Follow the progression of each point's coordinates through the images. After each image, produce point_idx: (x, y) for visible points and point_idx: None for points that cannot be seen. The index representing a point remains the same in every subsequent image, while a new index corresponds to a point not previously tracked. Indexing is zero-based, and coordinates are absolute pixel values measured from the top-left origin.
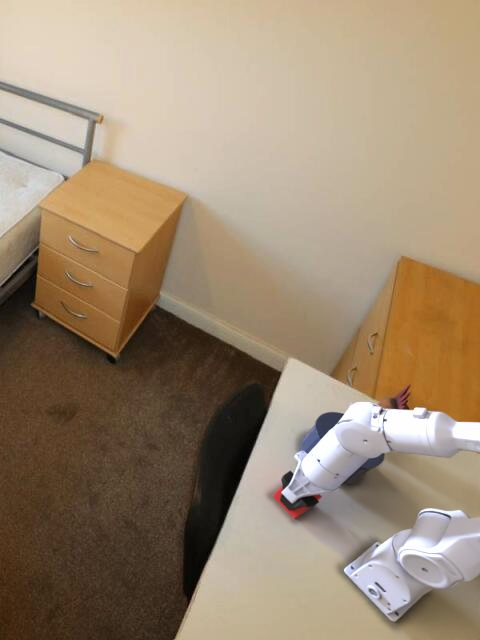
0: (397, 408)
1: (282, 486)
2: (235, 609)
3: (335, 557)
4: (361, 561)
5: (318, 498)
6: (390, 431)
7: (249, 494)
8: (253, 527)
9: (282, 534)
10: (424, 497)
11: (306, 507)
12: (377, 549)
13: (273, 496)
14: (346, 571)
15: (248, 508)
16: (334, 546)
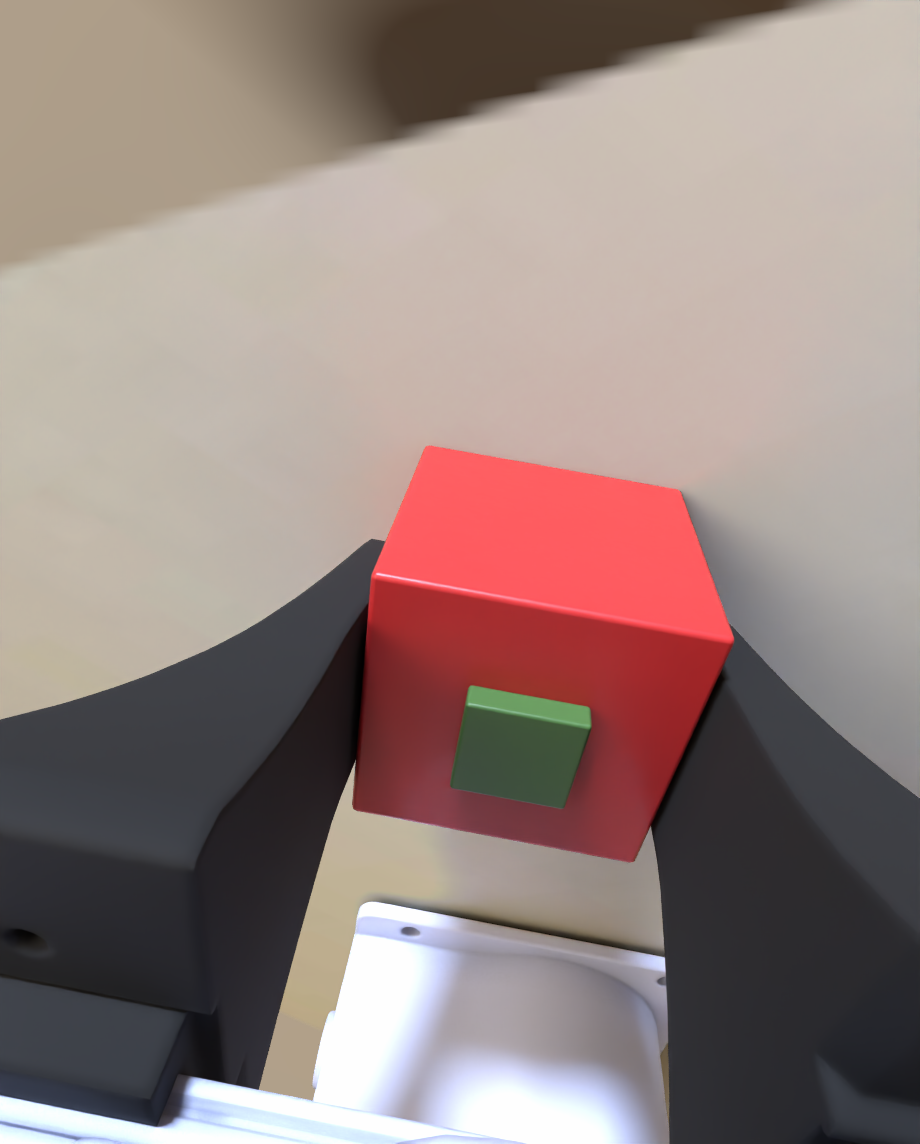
0: None
1: (378, 565)
2: None
3: (404, 857)
4: (492, 949)
5: (578, 851)
6: None
7: (225, 275)
8: (24, 474)
9: (213, 632)
10: None
11: (370, 811)
12: (511, 1133)
13: (424, 452)
14: (362, 918)
15: (101, 355)
16: (464, 841)
